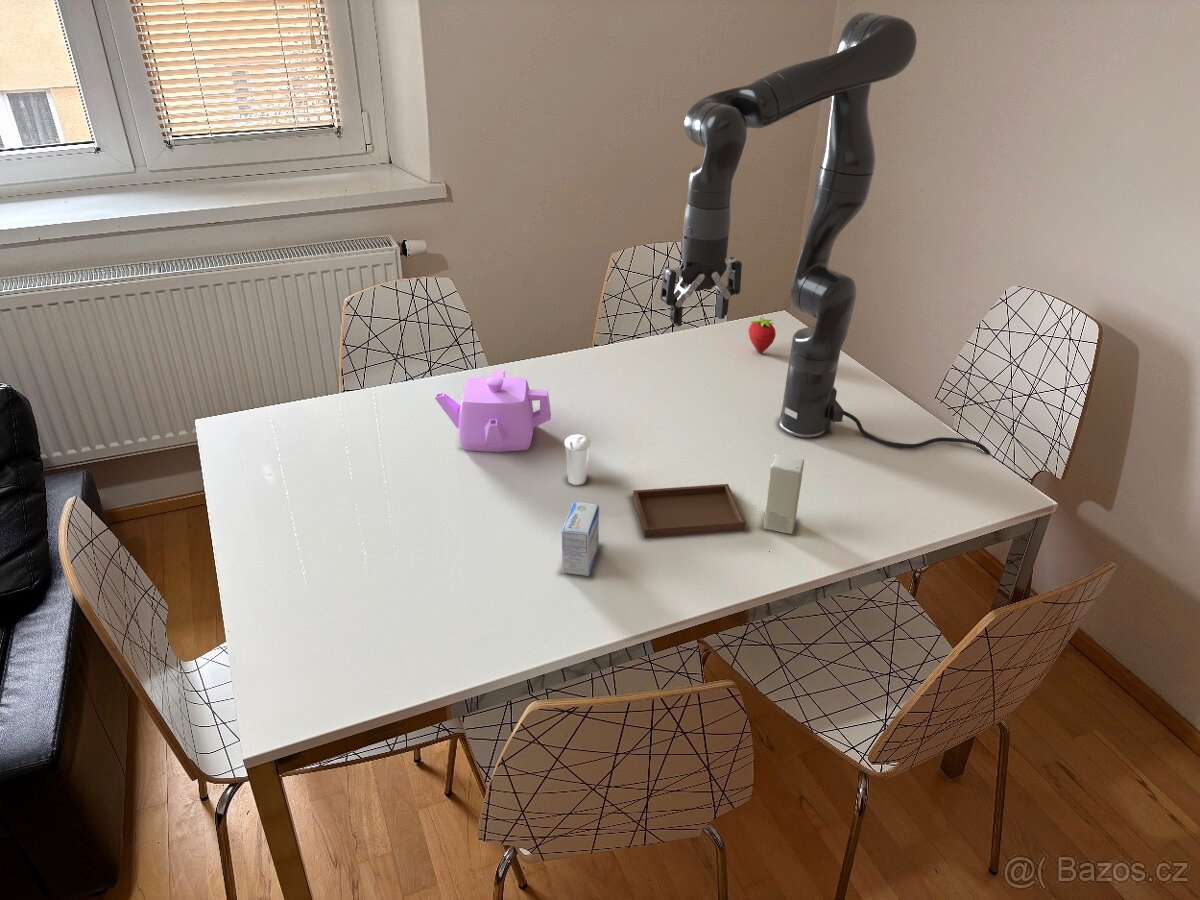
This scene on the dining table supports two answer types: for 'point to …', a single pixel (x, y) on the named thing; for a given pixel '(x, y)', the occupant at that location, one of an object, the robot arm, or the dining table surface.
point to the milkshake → (577, 458)
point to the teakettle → (496, 413)
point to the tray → (687, 510)
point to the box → (783, 493)
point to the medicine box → (580, 538)
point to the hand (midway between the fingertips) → (698, 321)
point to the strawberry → (761, 334)
